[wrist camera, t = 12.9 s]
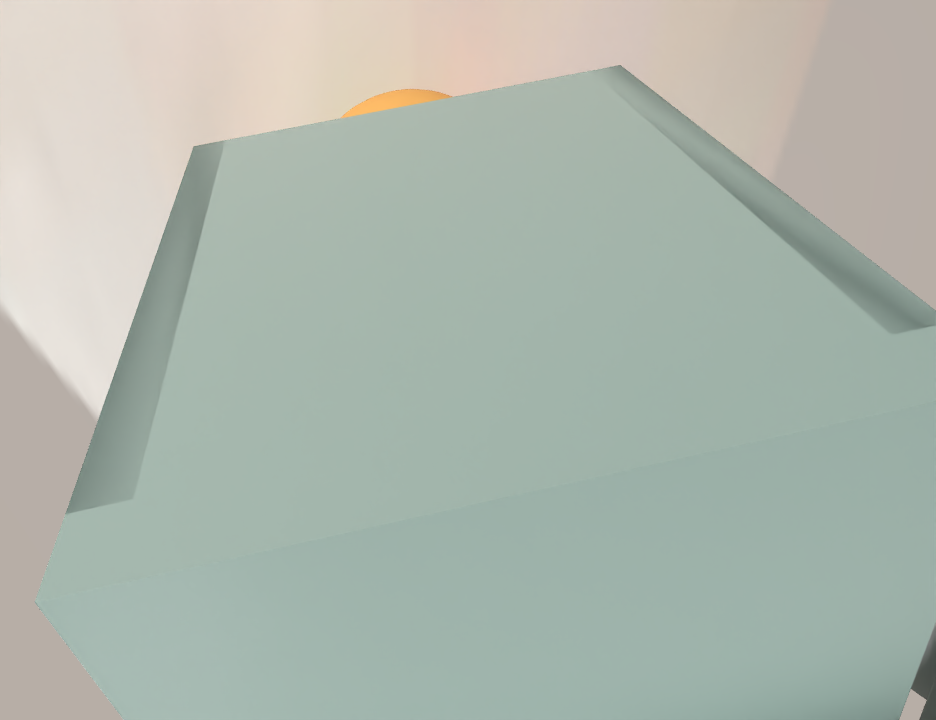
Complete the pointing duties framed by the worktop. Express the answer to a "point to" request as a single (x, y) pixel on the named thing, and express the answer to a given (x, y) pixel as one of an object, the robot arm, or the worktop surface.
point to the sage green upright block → (505, 434)
